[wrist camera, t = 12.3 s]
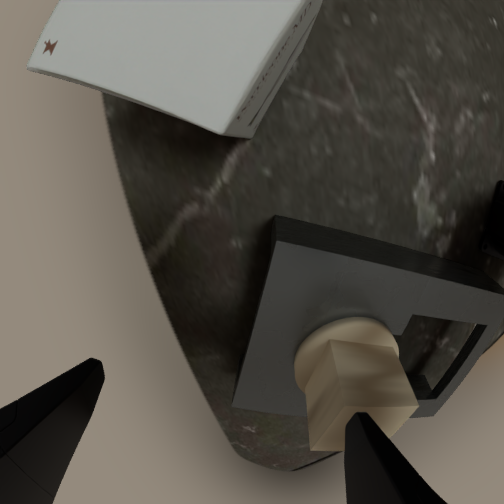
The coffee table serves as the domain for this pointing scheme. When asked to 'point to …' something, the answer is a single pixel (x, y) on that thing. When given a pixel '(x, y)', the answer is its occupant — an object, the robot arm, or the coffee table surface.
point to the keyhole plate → (355, 308)
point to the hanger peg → (351, 380)
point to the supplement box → (180, 54)
